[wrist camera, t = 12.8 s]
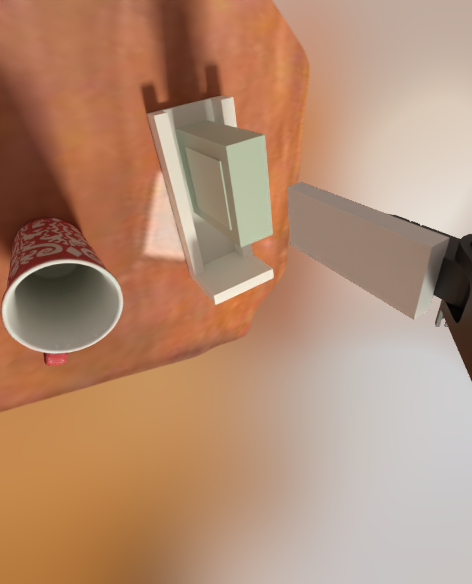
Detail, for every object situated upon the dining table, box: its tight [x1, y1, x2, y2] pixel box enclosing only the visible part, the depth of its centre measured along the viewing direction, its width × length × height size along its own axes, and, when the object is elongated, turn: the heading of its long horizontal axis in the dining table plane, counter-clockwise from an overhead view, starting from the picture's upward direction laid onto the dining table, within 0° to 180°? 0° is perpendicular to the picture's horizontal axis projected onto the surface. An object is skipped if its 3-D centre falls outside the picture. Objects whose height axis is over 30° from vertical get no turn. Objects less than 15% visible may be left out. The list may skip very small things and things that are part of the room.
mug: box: [1, 218, 123, 365], centre depth 33 cm, size 13×9×14 cm
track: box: [147, 95, 274, 305], centre depth 41 cm, size 22×9×8 cm, turn 9°
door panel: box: [175, 120, 273, 247], centre depth 37 cm, size 10×4×12 cm, turn 9°
